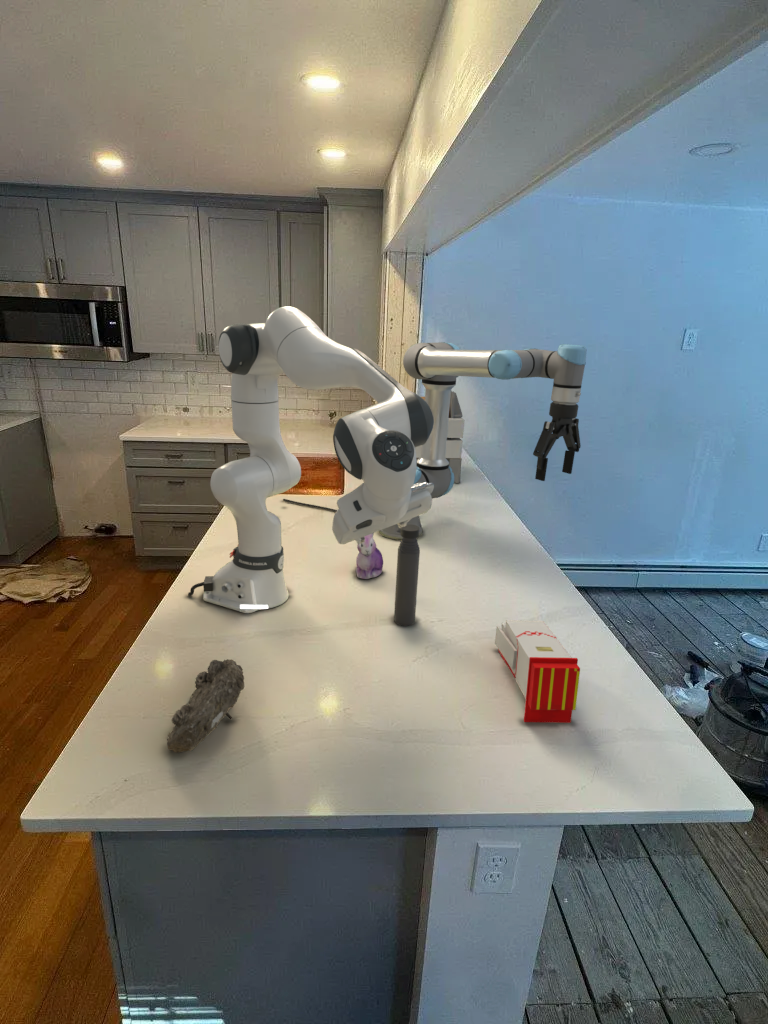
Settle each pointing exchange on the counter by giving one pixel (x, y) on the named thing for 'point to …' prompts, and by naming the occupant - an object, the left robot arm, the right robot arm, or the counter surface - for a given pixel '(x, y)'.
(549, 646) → the toy
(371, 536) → the figurine
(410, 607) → the bottle
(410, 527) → the cap
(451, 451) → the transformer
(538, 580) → the counter surface
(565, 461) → the right robot arm
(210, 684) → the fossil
